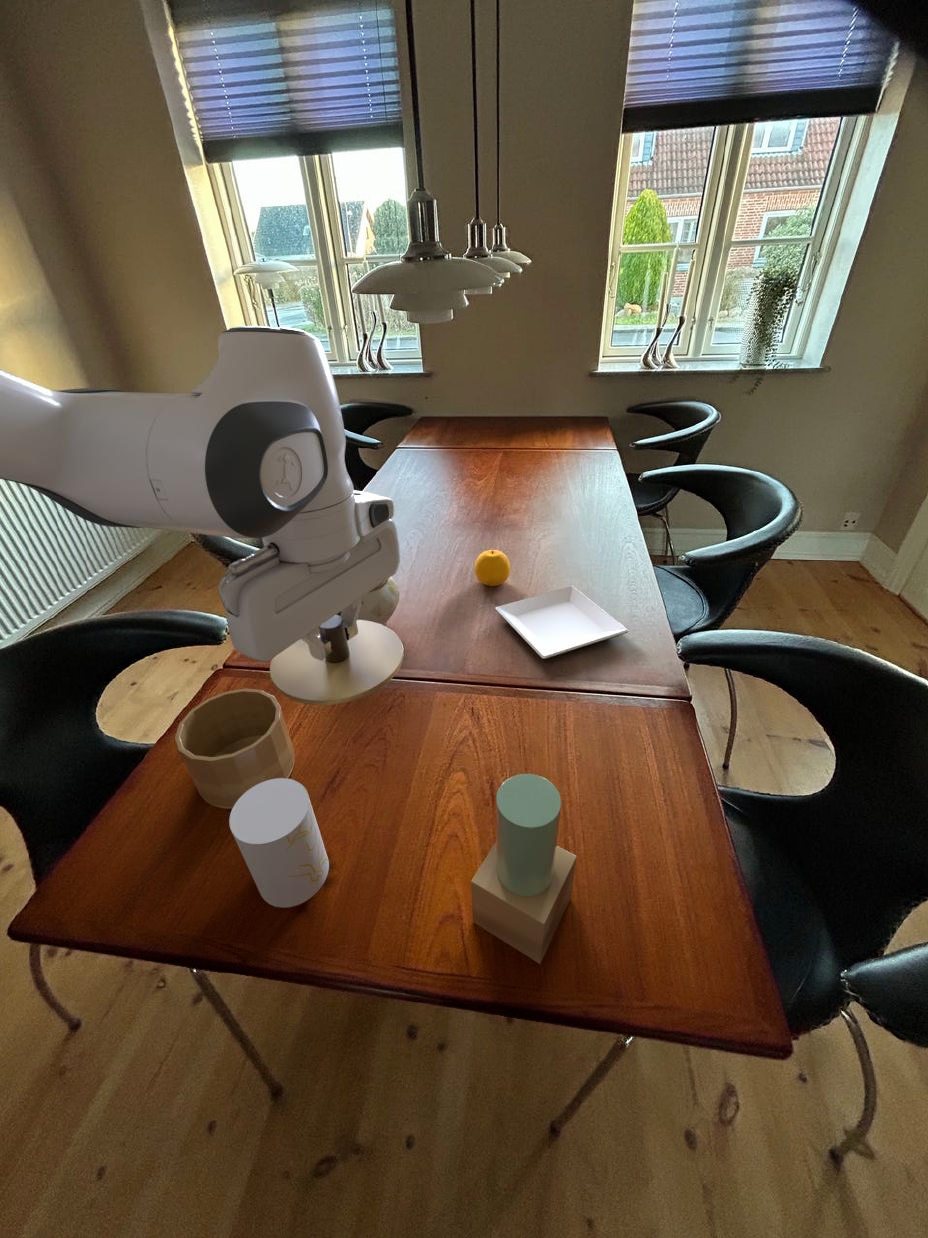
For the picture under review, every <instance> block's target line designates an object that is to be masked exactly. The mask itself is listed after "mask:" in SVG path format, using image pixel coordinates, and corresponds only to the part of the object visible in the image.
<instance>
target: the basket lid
mask: <svg viewBox="0 0 928 1238" xmlns="http://www.w3.org/2000/svg"><path fill="white" fill-rule="evenodd" d="M356 623H357V629H358V634H357V635H355V636H354V637H353V638H351V639H350V640H348V641H347V638H346V632H345V627H344V622H343V618H342V617H340V616H338V615H335V616H333V617H332V618H330V619H329V620H327V621H326V622H324V623H323V624H322V625H320V626H319V630H320V633H319V634H318V635H316V637H317V636H319V637H322V638H323V639H327V640H330V642H331V649H332V651H333V652H332V653H331V654H330V655H329V656H327V657H326V658H325V659H324V660H322V661H320V660H318V659H316V658H313V657H312V656H311V654H310V650H309V646H308V644H307V643H306V642H304V641H303V640H302V639H300V640H298V641H297V642H295V643H294V644H293V645H291V646H290V647H288V648H287V649H285V650H284V651H282V652H281V653H279V654H278V655H277V656H275V657H274V658H272V659H271V660H270V665H269V676H270V680H271V683H272V685H273V687H274V688H275V690H276V691H277V692H279V693H280V694H281V695H282V696H284V697H285V698H287V699H289V700H291V701H293V702H297V703H300V704H303V705H310V706H332V705H340V704H345V703H349V702H353V701H355V700H359V699H362V698H364V697H367V696H369V695H371V694H373V693H375V692H377V691H378V690H380V689H381V688H383V687H384V686H385V685H387V684H388V683H389V682H390V681H392V680H393V678H394V677H396V675H397V673H398V672H399V671H400V669H401V667H402V665H403V661H404V658H405V657H404V656H405V651H404V645H403V642H402V640H401V638H400V637H399V635H397V633H396V632H394V630H392V629H391V628H389V627H387V626H385V625H384V626H383V625H381V624H378V623H375V622H371V621H365V620H357V621H356Z"/></svg>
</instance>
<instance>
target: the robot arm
mask: <svg viewBox="0 0 928 1238" xmlns="http://www.w3.org/2000/svg"><path fill="white" fill-rule="evenodd" d="M217 339H218V341H217V342H218V343H217V346H218V357H217V360H216V362H215V364H214V365H213V367H212V368H211V370H210V371H209V373H208V375H207V376H206V377H205V378H204V379H203V380H202V381H201V382H200V383H199V384H198V385H197V386H195V387H194V388H192V389H190V391H189V392H190V393H170V392H169V393H168V392H167V393H166V392H165V393H164V392H136V391H134V392H132V391H125V390H119V389H109V388H97V387H86V388H85V387H84V388H83V387H82V388H81V387H79V388H71V389H59V390H56V389H55V390H54V389H51V388H50V389H49V388H47V387H43V386H41V385H39V384H36V383H35V382H31V381H30V380H27V379H24V378H22V377H20V376H17V375H15V374H12V373H10V372H8V371H6V370H4V369H0V480H4V481H8V482H13V483H17V484H20V485H23V486H24V487H25V486H26V487H28V488H30V489H32V490H34V491H36V492H38V493H40V494H42V495H43V496H45V497H47V498H48V499H50V500H51V501H53V502H55V503H56V504H58V505H59V506H61V507H62V508H63V509H65V510H67V511H68V512H70V513H72V514H74V515H75V516H77V517H79V518H81V519H83V520H85V521H87V522H90V523H92V524H95V525H98V526H101V527H102V526H103V527H110V528H127V529H128V528H130V529H142V528H143V529H153V530H161V531H170V532H171V531H172V532H179V533H180V532H181V533H188V534H196V535H197V534H198V535H203V536H204V535H206V536H214V537H222V538H230V539H233V538H234V539H261V540H262V545H263V547H262V548H261V547H260V548H259V549H257V550H255V551H254V552H252V553H250V554H249V555H247V556H246V557H244V558H239V559H237V560H235V561H233V562H232V563H230V564H229V565H228V567H227V571H226V572H225V573H224V575H223V576H222V578H221V580H220V582H219V583H218V587H217V588H218V594H219V597H220V600H221V603H222V605H223V607H224V612H225V619H226V624H227V629H228V633H229V637H230V641H231V644H232V646H233V648H234V649H235V651H237V652H238V653H239V654H241V655H243V656H245V657H247V658H250V659H252V660H255V661H259V662H263V663H267V662H269V661H272V659H273V658H274V657H275V656H277V655H278V654H279V653H281V652H282V651H284V650H285V649H287V648H288V647H290V646H291V645H293V644H294V643H295V642H297V641H298V640H300V639H302V640H303V641H304V642H306V643H307V644H308V646H309V650H310V654H311V656H312V657H313V658H316V659H318V660H320V661H322V660H324V659H325V658H326V657H327V656H329V655H330V654H331V653H332V652H333V651H332V649H331V642H330V640H327V639H323V638H322V637H319V636H317V637H316V635H318V634H319V633H320V630H319V626H320V625H322V624H323V623H324V622H326V621H327V620H329V619H330V618H332V617H333V616H335V615H336V614H338V613H339V612H340V611H341V616H340V617H342V618H343V622H344V627H345V632H346V638H347V641H348V640H350V639H351V638H353V637H354V636H355V635H357V634H358V629H357V623H356V621H357V620H358V616H359V613H360V609H361V605H362V602H361V597H362V596H364V595H365V594H367V593H368V592H370V591H371V590H372V589H374V588H375V587H377V586H378V585H380V584H381V583H383V582H384V581H386V580H387V579H388V578H390V577H393V576H395V575H396V574H397V572H398V570H399V566H400V564H401V550H400V541H399V535H398V530H397V526H396V522H394V521H393V519H392V518H393V517H394V516H395V504H394V501H393V499H392V498H389V497H387V496H384V495H380V494H375V493H371V492H368V491H367V492H366V491H362V490H355V489H354V484H353V481H352V479H351V477H350V475H349V472H348V470H347V466H346V460H345V459H346V458H345V454H346V446H347V439H346V431H345V425H344V419H343V414H342V409H341V404H340V399H339V395H338V390H337V386H336V382H335V378H334V374H333V372H332V368H331V365H330V362H329V359H328V356H327V354H326V351H325V349H324V347H323V344H322V343H321V341H320V339H318V338H317V337H316V336H314V335H312V334H311V333H310V332H307V331H304V330H302V329H297V328H291V327H286V326H285V327H283V326H279V327H272V326H267V325H243V326H233V327H230V328H228V329H226V330H224V331H222V332H220V333H219V335H218V338H217Z"/></svg>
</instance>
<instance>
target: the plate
mask: <svg viewBox="0 0 928 1238" xmlns="http://www.w3.org/2000/svg"><path fill="white" fill-rule="evenodd" d="M494 609H495V610H496V611H497V612H498V614H499V615H500V616H501V617H502V618H503V619H504V620H505V621H506V622H507V623H508V624H509V625H510V626H511V627H512V628H513V629H514V631H516V633H517V634H518V635H519V636H520V637H521V638H522V639H523V640H524V641H525V642H526V643H527V644H528V645H529V646H530V647H531V648H532V649H533V651H534V652H535V653H536V654H537V655H538V656H539V657H540V658H541V659H542V660H548V659H550V658H553V657H557V656H560V655H563V654H565V653H569V652H572V651H575V650H579V649H581V648H585V647H588V646H590V645H591V646H592V645H593V644H594V645H595V644H597V643H600V642H603V641H606V640H609V639H612V638H616V637H619V636H622V635H626V634H627V633H629V632H630V630H629V629H628V628H627V627H625V626H624V625H623V624H622V623H621V622H619V621H618V620H617V619H616V618H614V617H613V616H612V615H611V614H610V613H608V612H607V611H605V610H604V609H603V608H602V607H600V606H599V605H598V604H597V603H595V602H594V601H593V600H592V599H590V598H589V597H588V596H587V595H585V594H584V593H583V592H581V591H580V589H578V588H576V587H575V586H574V585H571V586H567V587H564V588H560V589H556V590H553V591H549V592H546V593H542V594H538V595H534V596H532V597H527V598H523V599H521V600H517V601H513V602H510V603H505V604H502V605H499V606H495V607H494Z"/></svg>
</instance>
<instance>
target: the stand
mask: <svg viewBox="0 0 928 1238" xmlns="http://www.w3.org/2000/svg"><path fill="white" fill-rule="evenodd" d="M577 859H578V856H577V855H575V854H574V853H572V852H569V851H568V850H566V849H564V848H562V847H560V846H558V845H557V847H556V856H555V866H554V875H553V879H552V882H551V884H550V885H549V887H548V888H547V889H546V890H545V891H543V892H542V893H540V894H538V895H535V896H527V897H526V896H519V895H516V894H514V893H512V892H510V891H509V890H508V889H506V888H505V887H504V886H503V884H502V883H501V882H500V880H499V878H498V875H497V869H496V842H494V844H493V846H492V847H491V849H490V851H489V852H488V854H487V855H486V857H485V859H484V860H483V862H482V863H481V865H480V866H479V868H478V869H477V871H476V872H475V874H474V875H473V878H472V880H470V887H471V888H470V889H471V908H472V923H473V924H475V925H477V926H478V927H480V928H481V929H483V930H485V931H487V932H488V933H489V934H491V935H493V936H494V937H495V938H497V939H499V940H500V941H502V942H504V943H505V944H507V945H509V946H510V947H511V948H513V949H515V950H517V951H518V952H519V953H522V954H523V955H524V956H526V957H528V958H530V959H531V960H533V961H534V962H535V963H537V964H539V965H541V963H542V961H543V959H544V957H545V955H546V953H547V950H548V948H549V946H550V944H551V942H552V939H553V937H554V935H555V934H556V931H557V929H558V927H559V924H560V922H561V920H562V918H563V916H564V914H565V911H566V910H567V907H568V905H569V903H570V901H571V898H572V894H573V893H572V892H573V886H574V881H575V880H574V879H575V874H576V873H575V872H576V867H577Z"/></svg>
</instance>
